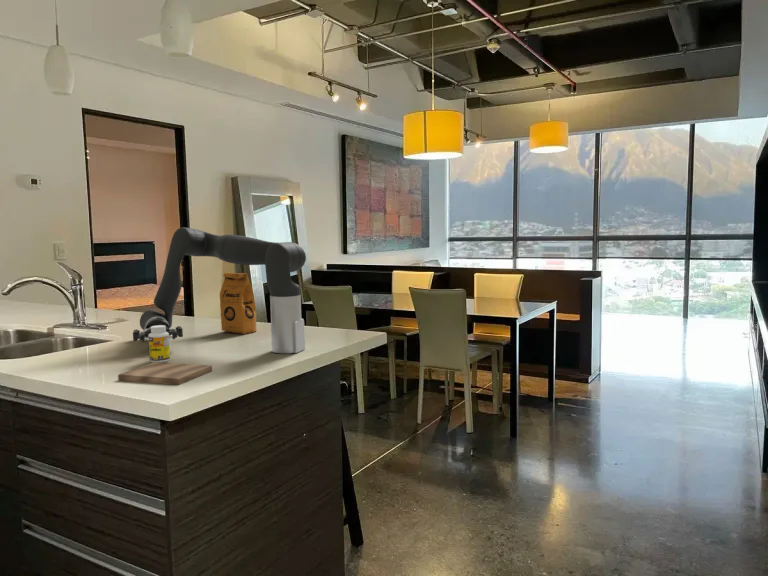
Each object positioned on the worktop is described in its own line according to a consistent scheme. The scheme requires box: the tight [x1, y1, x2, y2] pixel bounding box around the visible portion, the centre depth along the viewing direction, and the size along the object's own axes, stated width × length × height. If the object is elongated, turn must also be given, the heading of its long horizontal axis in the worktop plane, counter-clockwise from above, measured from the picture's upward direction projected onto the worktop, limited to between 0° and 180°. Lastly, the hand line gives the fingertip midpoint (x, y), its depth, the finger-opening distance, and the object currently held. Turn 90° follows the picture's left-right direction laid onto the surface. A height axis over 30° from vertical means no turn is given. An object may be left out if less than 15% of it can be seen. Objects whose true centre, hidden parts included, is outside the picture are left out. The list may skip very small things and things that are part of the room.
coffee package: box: [219, 272, 257, 335], centre depth 213 cm, size 10×12×22 cm
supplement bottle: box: [148, 325, 171, 363], centre depth 167 cm, size 6×6×10 cm
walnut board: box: [117, 362, 213, 386], centre depth 150 cm, size 18×14×2 cm
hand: (158, 337), depth 173 cm, fingers open, 8 cm apart
